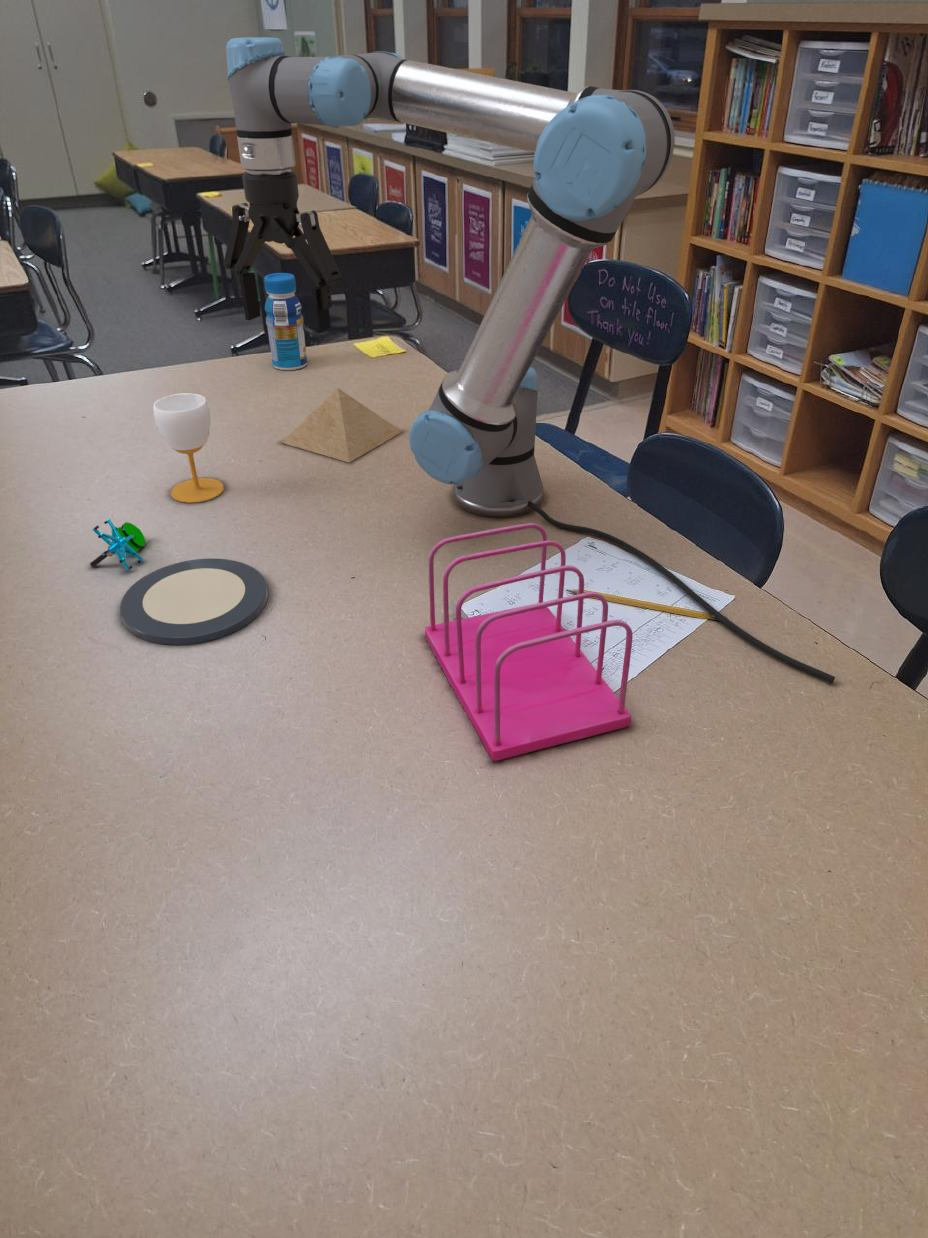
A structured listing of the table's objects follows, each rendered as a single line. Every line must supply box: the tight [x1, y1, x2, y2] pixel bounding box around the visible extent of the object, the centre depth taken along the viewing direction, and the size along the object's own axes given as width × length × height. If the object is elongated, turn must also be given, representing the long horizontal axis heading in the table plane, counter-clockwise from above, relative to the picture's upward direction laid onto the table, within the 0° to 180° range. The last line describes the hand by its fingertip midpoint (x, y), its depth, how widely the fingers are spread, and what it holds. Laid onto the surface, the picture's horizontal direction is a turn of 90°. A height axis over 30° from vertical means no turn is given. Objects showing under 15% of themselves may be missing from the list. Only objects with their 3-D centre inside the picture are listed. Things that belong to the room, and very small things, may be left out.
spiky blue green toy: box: [89, 518, 146, 572], centre depth 130 cm, size 12×7×8 cm
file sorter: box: [424, 522, 633, 762], centre depth 103 cm, size 17×25×16 cm
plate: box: [119, 557, 269, 646], centre depth 121 cm, size 20×20×1 cm
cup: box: [152, 392, 225, 504], centre depth 145 cm, size 9×9×16 cm
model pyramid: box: [281, 387, 403, 463], centre depth 165 cm, size 17×17×10 cm
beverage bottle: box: [263, 272, 308, 371], centre depth 196 cm, size 8×8×20 cm
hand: (287, 324), depth 133 cm, fingers open, 13 cm apart
